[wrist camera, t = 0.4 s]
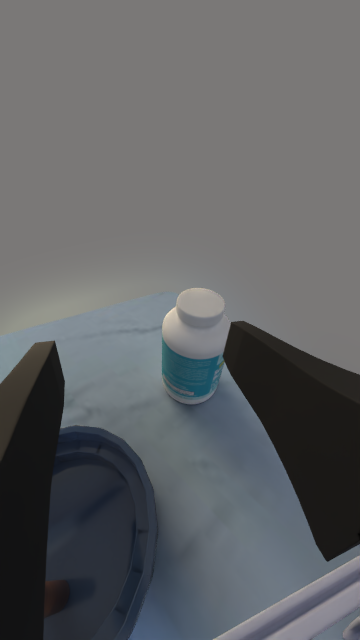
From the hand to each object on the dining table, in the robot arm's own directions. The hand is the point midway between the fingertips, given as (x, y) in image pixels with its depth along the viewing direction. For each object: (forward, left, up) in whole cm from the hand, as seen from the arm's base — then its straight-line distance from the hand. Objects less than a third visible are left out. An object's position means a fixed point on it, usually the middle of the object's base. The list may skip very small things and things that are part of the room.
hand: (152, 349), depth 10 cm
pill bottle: (+10, -6, -20) cm, 23 cm away
